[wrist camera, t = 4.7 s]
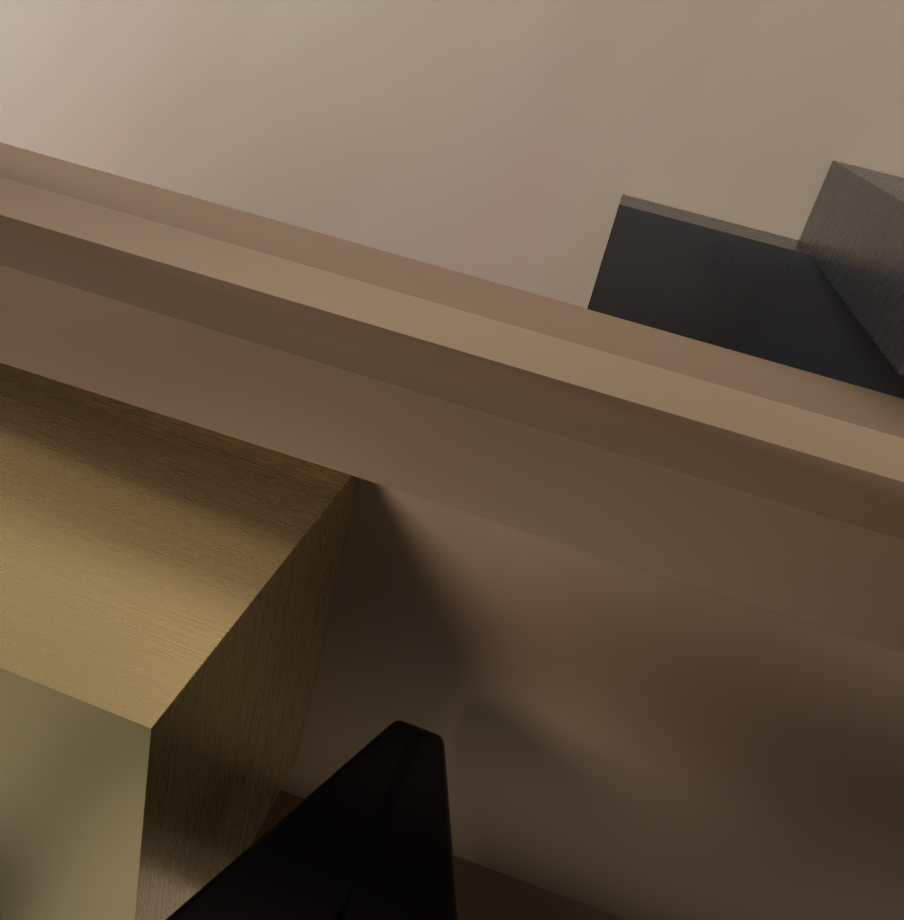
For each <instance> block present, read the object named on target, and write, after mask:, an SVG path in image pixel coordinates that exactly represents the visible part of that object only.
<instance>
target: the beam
mask: <svg viewBox="0 0 904 920" xmlns="http://www.w3.org/2000/svg"><path fill="white" fill-rule="evenodd" d="M0 363H3V364H6V365H9V366H13V367H16V368H19V369H22V370H25V371H28V372H31V373H34V374H38V375H41V376H44V377H47V378H50V379H53V380H56V381H59V382H62V383H66V384H69V385H72V386H75V387H78V388H81V389H84V390H87V391H90V392H94V393H97V394H100V395H103V396H106V397H109V398H112V399H115V400H118V401H122V402H125V403H128V404H131V405H134V406H137V407H140V408H143V409H146V410H150V411H153V412H156V413H159V414H162V415H165V416H168V417H171V418H175V419H178V420H181V421H184V422H187V423H190V424H193V425H196V426H199V427H203V428H206V429H209V430H212V431H215V432H218V433H221V434H224V435H227V436H231V437H234V438H237V439H240V440H243V441H246V442H249V443H252V444H255V445H259V446H262V447H265V448H268V449H271V450H274V451H277V452H280V453H283V454H287V455H290V456H293V457H296V458H299V459H302V460H305V461H308V462H311V463H315V464H318V465H321V466H324V467H327V468H330V469H333V470H336V471H340V472H343V473H346V474H349V475H352V476H355V477H358V478H359V480H358V485H357V489H356V494H355V498H354V503H353V507H352V512H351V516H350V521H349V525H348V530H347V534H346V539H345V543H344V548H343V552H342V557H341V561H340V566H339V570H338V575H337V579H336V584H335V588H334V593H333V597H332V602H331V606H330V611H329V615H328V619H327V624H326V628H325V633H324V637H323V642H322V646H321V651H320V655H319V660H318V664H317V669H316V673H315V678H314V682H313V687H312V691H311V696H310V700H309V705H308V709H307V714H306V718H305V723H304V727H303V732H302V736H301V741H300V745H299V750H298V754H297V758H296V763H295V765H294V767H293V769H292V771H291V772H290V774H289V776H288V778H287V780H286V782H285V783H284V785H283V787H282V789H281V791H280V793H279V794H278V796H277V798H276V800H275V802H274V804H273V805H272V807H271V809H270V811H269V813H268V815H267V816H266V818H265V820H264V822H263V824H262V825H261V827H260V829H259V831H258V833H257V835H256V836H255V838H254V840H253V842H252V844H253V843H254V842H255V841H256V840H258V839H259V838H260V837H261V836H262V835H263V834H265V833H266V832H267V831H268V830H269V829H270V828H271V827H273V826H274V825H275V824H276V823H277V822H278V821H280V820H281V819H282V818H283V817H284V816H285V815H286V814H288V813H289V812H290V811H291V810H292V809H293V808H294V807H296V806H297V805H298V804H299V803H300V802H301V801H303V800H304V799H305V798H306V797H307V796H308V795H309V794H311V793H312V792H313V791H314V790H315V789H316V788H317V787H319V786H320V785H321V784H322V783H323V782H324V781H326V780H327V779H328V778H329V777H330V776H331V775H332V774H334V773H335V772H336V771H337V770H338V769H339V768H340V767H342V766H343V765H344V764H345V763H346V762H347V761H349V760H350V759H351V758H352V757H353V756H354V755H355V754H357V753H358V752H359V751H360V750H361V749H362V748H363V747H365V746H366V745H367V744H368V743H369V742H370V741H372V740H373V739H374V738H375V737H376V736H377V735H378V734H380V733H381V732H382V731H383V730H384V729H385V728H386V727H388V726H389V725H390V724H391V723H393V722H395V721H398V720H401V721H404V722H407V723H410V724H412V725H415V726H418V727H420V728H423V729H426V730H428V731H431V732H434V733H436V734H439V735H440V736H441V737H442V738H443V741H444V746H445V759H446V771H447V784H448V796H449V809H450V821H451V834H452V846H453V859H454V871H455V884H456V896H457V909H458V920H904V399H902V398H899V397H895V396H892V395H888V394H885V393H881V392H878V391H874V390H870V389H867V388H863V387H860V386H856V385H853V384H849V383H846V382H842V381H839V380H835V379H832V378H828V377H825V376H821V375H818V374H814V373H811V372H807V371H804V370H800V369H797V368H793V367H789V366H786V365H782V364H779V363H775V362H772V361H768V360H765V359H761V358H758V357H754V356H751V355H747V354H744V353H740V352H737V351H733V350H730V349H726V348H723V347H719V346H715V345H712V344H708V343H705V342H701V341H698V340H694V339H691V338H687V337H684V336H680V335H677V334H673V333H670V332H666V331H663V330H659V329H656V328H652V327H649V326H645V325H642V324H638V323H634V322H631V321H627V320H624V319H620V318H617V317H613V316H610V315H606V314H603V313H599V312H596V311H592V310H589V309H585V308H582V307H578V306H575V305H571V304H568V303H564V302H560V301H557V300H553V299H550V298H546V297H543V296H539V295H536V294H532V293H529V292H525V291H522V290H518V289H515V288H511V287H508V286H504V285H501V284H497V283H494V282H490V281H487V280H483V279H479V278H476V277H472V276H469V275H465V274H462V273H458V272H455V271H451V270H448V269H444V268H441V267H437V266H434V265H430V264H427V263H423V262H420V261H416V260H413V259H409V258H405V257H402V256H398V255H395V254H391V253H388V252H384V251H381V250H377V249H374V248H370V247H367V246H363V245H360V244H356V243H353V242H349V241H346V240H342V239H339V238H335V237H332V236H328V235H324V234H321V233H317V232H314V231H310V230H307V229H303V228H300V227H296V226H293V225H289V224H286V223H282V222H279V221H275V220H272V219H268V218H265V217H261V216H258V215H254V214H250V213H247V212H243V211H240V210H236V209H233V208H229V207H226V206H222V205H219V204H215V203H212V202H208V201H205V200H201V199H198V198H194V197H191V196H187V195H184V194H180V193H177V192H173V191H169V190H166V189H162V188H159V187H155V186H152V185H148V184H145V183H141V182H138V181H134V180H131V179H127V178H124V177H120V176H117V175H113V174H110V173H106V172H103V171H99V170H95V169H92V168H88V167H85V166H81V165H78V164H74V163H71V162H67V161H64V160H60V159H57V158H53V157H50V156H46V155H43V154H39V153H36V152H32V151H29V150H25V149H22V148H18V147H14V146H11V145H7V144H4V143H0ZM252 844H251V845H252Z"/></svg>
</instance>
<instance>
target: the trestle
mask: <svg viewBox="0 0 904 920" xmlns="http://www.w3.org/2000/svg"><path fill="white" fill-rule="evenodd" d="M588 309H589V310H592V311H596V312H599V313H603V314H606V315H610V316H613V317H617V318H620V319H624V320H627V321H631V322H634V323H638V324H642V325H645V326H649V327H652V328H656V329H659V330H663V331H666V332H670V333H673V334H677V335H680V336H684V337H687V338H691V339H694V340H698V341H701V342H705V343H708V344H712V345H715V346H719V347H723V348H726V349H730V350H733V351H737V352H740V353H744V354H747V355H751V356H754V357H758V358H761V359H765V360H768V361H772V362H775V363H779V364H782V365H786V366H789V367H793V368H797V369H800V370H804V371H807V372H811V373H814V374H818V375H821V376H825V377H828V378H832V379H835V380H839V381H842V382H846V383H849V384H853V385H856V386H860V387H863V388H867V389H870V390H874V391H878V392H881V393H885V394H888V395H892V396H895V397H899V398H902V399H904V178H900V177H896V176H892V175H888V174H884V173H880V172H876V171H872V170H868V169H864V168H861V167H857V166H853V165H849V164H845V163H841V162H837V161H833V162H832V164H831V167H830V169H829V171H828V174H827V176H826V178H825V181H824V183H823V185H822V188H821V190H820V193H819V195H818V197H817V200H816V202H815V204H814V207H813V209H812V211H811V214H810V216H809V219H808V221H807V223H806V226H805V228H804V230H803V233H802V235H801V237H800V240H799V241H798V240H794V239H790V238H786V237H782V236H779V235H775V234H771V233H767V232H763V231H760V230H756V229H752V228H748V227H744V226H741V225H737V224H733V223H729V222H725V221H722V220H718V219H714V218H710V217H706V216H703V215H699V214H695V213H691V212H687V211H684V210H680V209H676V208H672V207H668V206H664V205H661V204H657V203H653V202H649V201H645V200H642V199H638V198H634V197H630V196H626V195H622V198H621V201H620V204H619V207H618V211H617V214H616V217H615V221H614V224H613V227H612V230H611V234H610V237H609V240H608V243H607V247H606V250H605V253H604V256H603V260H602V263H601V266H600V270H599V273H598V276H597V279H596V283H595V286H594V289H593V292H592V296H591V299H590V302H589V305H588Z"/></svg>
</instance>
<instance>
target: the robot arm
mask: <svg viewBox="0 0 904 920" xmlns="http://www.w3.org/2000/svg"><path fill="white" fill-rule="evenodd" d="M166 920H458V909H457V896H456V884H455V871H454V859H453V846H452V834H451V821H450V809H449V796H448V784H447V771H446V759H445V746H444V741H443V738H442V737H441V736H440V735H439V734H436V733H434V732H431V731H428V730H426V729H423V728H420V727H418V726H415V725H412V724H410V723H407V722H404V721H401V720H398V721H395V722H393V723H391V724H390V725H389V726H388V727H386V728H385V729H384V730H383V731H382V732H381V733H380V734H378V735H377V736H376V737H375V738H374V739H373V740H372V741H370V742H369V743H368V744H367V745H366V746H365V747H363V748H362V749H361V750H360V751H359V752H358V753H357V754H355V755H354V756H353V757H352V758H351V759H350V760H349V761H347V762H346V763H345V764H344V765H343V766H342V767H340V768H339V769H338V770H337V771H336V772H335V773H334V774H332V775H331V776H330V777H329V778H328V779H327V780H326V781H324V782H323V783H322V784H321V785H320V786H319V787H317V788H316V789H315V790H314V791H313V792H312V793H311V794H309V795H308V796H307V797H306V798H305V799H304V800H303V801H301V802H300V803H299V804H298V805H297V806H296V807H294V808H293V809H292V810H291V811H290V812H289V813H288V814H286V815H285V816H284V817H283V818H282V819H281V820H280V821H278V822H277V823H276V824H275V825H274V826H273V827H271V828H270V829H269V830H268V831H267V832H266V833H265V834H263V835H262V836H261V837H260V838H259V839H258V840H256V841H255V842H254V843H253V844H252V845H251V846H250V847H248V848H247V849H246V850H245V851H244V852H243V853H242V854H240V855H239V856H238V857H237V858H236V859H235V860H233V861H232V862H231V863H230V864H229V865H228V866H227V867H225V868H224V869H223V870H222V871H221V872H220V873H219V874H217V875H216V876H215V877H214V878H213V879H212V880H210V881H209V882H208V883H207V884H206V885H205V886H204V887H202V888H201V889H200V890H199V891H198V892H197V893H196V894H194V895H193V896H192V897H191V898H190V899H189V900H187V901H186V902H185V903H184V904H183V905H182V906H181V907H179V908H178V909H177V910H176V911H175V912H174V913H173V914H171V915H170V916H169V917H168V918H167V919H166Z"/></svg>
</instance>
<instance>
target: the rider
mask: <svg viewBox="0 0 904 920" xmlns="http://www.w3.org/2000/svg"><path fill="white" fill-rule="evenodd" d="M358 480H359V478H358V477H355V476H352V475H349V474H346V473H343V472H340V471H336V470H333V469H330V468H327V467H324V466H321V465H318V464H315V463H311V462H308V461H305V460H302V459H299V458H296V457H293V456H290V455H287V454H283V453H280V452H277V451H274V450H271V449H268V448H265V447H262V446H259V445H255V444H252V443H249V442H246V441H243V440H240V439H237V438H234V437H231V436H227V435H224V434H221V433H218V432H215V431H212V430H209V429H206V428H203V427H199V426H196V425H193V424H190V423H187V422H184V421H181V420H178V419H175V418H171V417H168V416H165V415H162V414H159V413H156V412H153V411H150V410H146V409H143V408H140V407H137V406H134V405H131V404H128V403H125V402H122V401H118V400H115V399H112V398H109V397H106V396H103V395H100V394H97V393H94V392H90V391H87V390H84V389H81V388H78V387H75V386H72V385H69V384H66V383H62V382H59V381H56V380H53V379H50V378H47V377H44V376H41V375H38V374H34V373H31V372H28V371H25V370H22V369H19V368H16V367H13V366H9V365H6V364H3V363H0V920H166V919H167V918H168V917H169V916H170V915H171V914H173V913H174V912H175V911H176V910H177V909H178V908H179V907H181V906H182V905H183V904H184V903H185V902H186V901H187V900H189V899H190V898H191V897H192V896H193V895H194V894H196V893H197V892H198V891H199V890H200V889H201V888H202V887H204V886H205V885H206V884H207V883H208V882H209V881H210V880H212V879H213V878H214V877H215V876H216V875H217V874H219V873H220V872H221V871H222V870H223V869H224V868H225V867H227V866H228V865H229V864H230V863H231V862H232V861H233V860H235V859H236V858H237V857H238V856H239V855H240V854H242V853H243V852H244V851H245V850H246V849H247V848H248V847H250V846H251V844H252V842H253V840H254V838H255V836H256V835H257V833H258V831H259V829H260V827H261V825H262V824H263V822H264V820H265V818H266V816H267V815H268V813H269V811H270V809H271V807H272V805H273V804H274V802H275V800H276V798H277V796H278V794H279V793H280V791H281V789H282V787H283V785H284V783H285V782H286V780H287V778H288V776H289V774H290V772H291V771H292V769H293V767H294V765H295V763H296V758H297V754H298V750H299V745H300V741H301V736H302V732H303V727H304V723H305V718H306V714H307V709H308V705H309V700H310V696H311V691H312V687H313V682H314V678H315V673H316V669H317V664H318V660H319V655H320V651H321V646H322V642H323V637H324V633H325V628H326V624H327V619H328V615H329V611H330V606H331V602H332V597H333V593H334V588H335V584H336V579H337V575H338V570H339V566H340V561H341V557H342V552H343V548H344V543H345V539H346V534H347V530H348V525H349V521H350V516H351V512H352V507H353V503H354V498H355V494H356V489H357V485H358Z"/></svg>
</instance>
